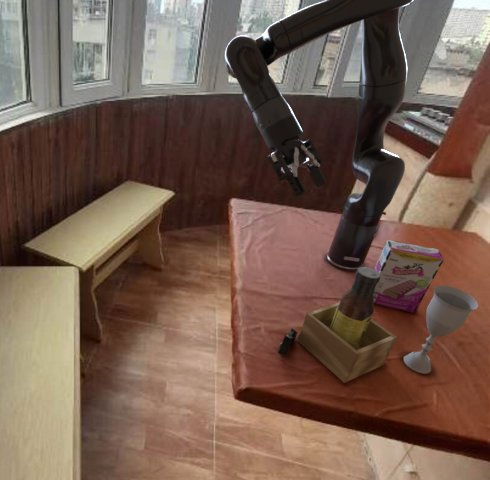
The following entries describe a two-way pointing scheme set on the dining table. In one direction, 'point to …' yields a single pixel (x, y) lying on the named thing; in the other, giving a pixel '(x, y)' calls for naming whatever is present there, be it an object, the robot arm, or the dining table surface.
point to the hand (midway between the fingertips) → (312, 189)
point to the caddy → (344, 345)
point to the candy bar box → (405, 275)
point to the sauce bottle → (356, 308)
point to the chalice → (441, 322)
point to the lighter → (287, 342)
